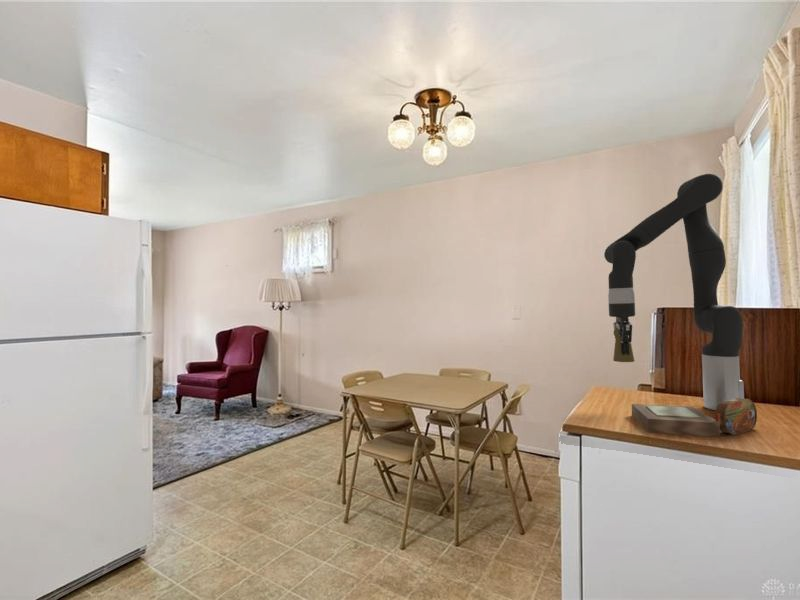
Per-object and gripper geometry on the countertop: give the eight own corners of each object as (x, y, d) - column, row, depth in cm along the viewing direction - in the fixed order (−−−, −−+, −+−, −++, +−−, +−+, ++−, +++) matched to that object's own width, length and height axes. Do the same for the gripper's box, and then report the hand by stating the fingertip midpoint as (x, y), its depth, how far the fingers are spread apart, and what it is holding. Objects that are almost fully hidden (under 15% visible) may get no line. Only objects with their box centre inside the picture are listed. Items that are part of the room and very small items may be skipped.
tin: (727, 437, 97) (726, 404, 97) (713, 433, 100) (712, 401, 100) (759, 428, 103) (757, 397, 103) (744, 425, 106) (743, 395, 106)
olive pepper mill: (609, 359, 128) (607, 327, 128) (625, 359, 129) (624, 326, 129) (621, 362, 122) (620, 328, 122) (638, 361, 123) (637, 327, 123)
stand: (693, 418, 113) (692, 405, 113) (720, 436, 98) (719, 421, 98) (631, 415, 118) (631, 402, 118) (648, 432, 102) (648, 417, 103)
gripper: (640, 301, 118) (643, 357, 118) (628, 301, 132) (630, 351, 131) (613, 302, 120) (616, 357, 120) (604, 302, 134) (606, 351, 134)
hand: (623, 353), depth 126 cm, fingers closed on olive pepper mill, 4 cm apart
